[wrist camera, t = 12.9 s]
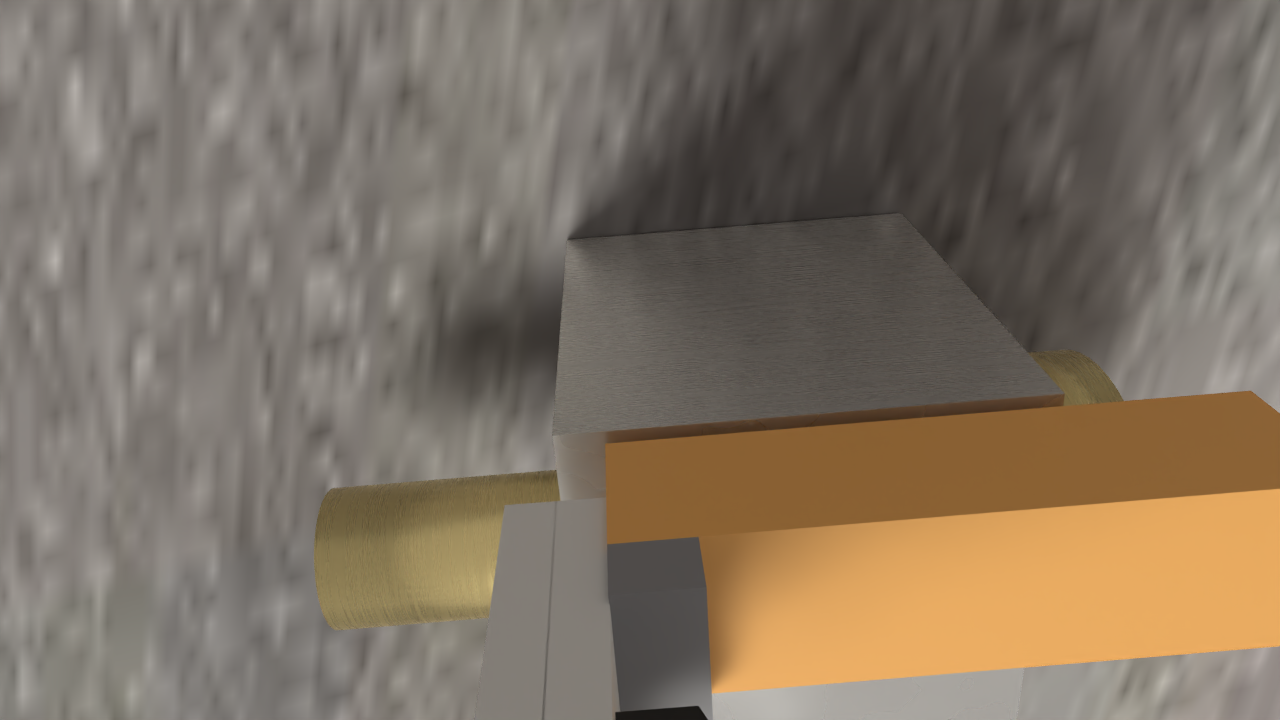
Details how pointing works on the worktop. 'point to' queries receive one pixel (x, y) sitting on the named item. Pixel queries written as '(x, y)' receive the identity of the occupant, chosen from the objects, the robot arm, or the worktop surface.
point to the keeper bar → (942, 545)
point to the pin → (482, 530)
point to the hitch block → (783, 380)
